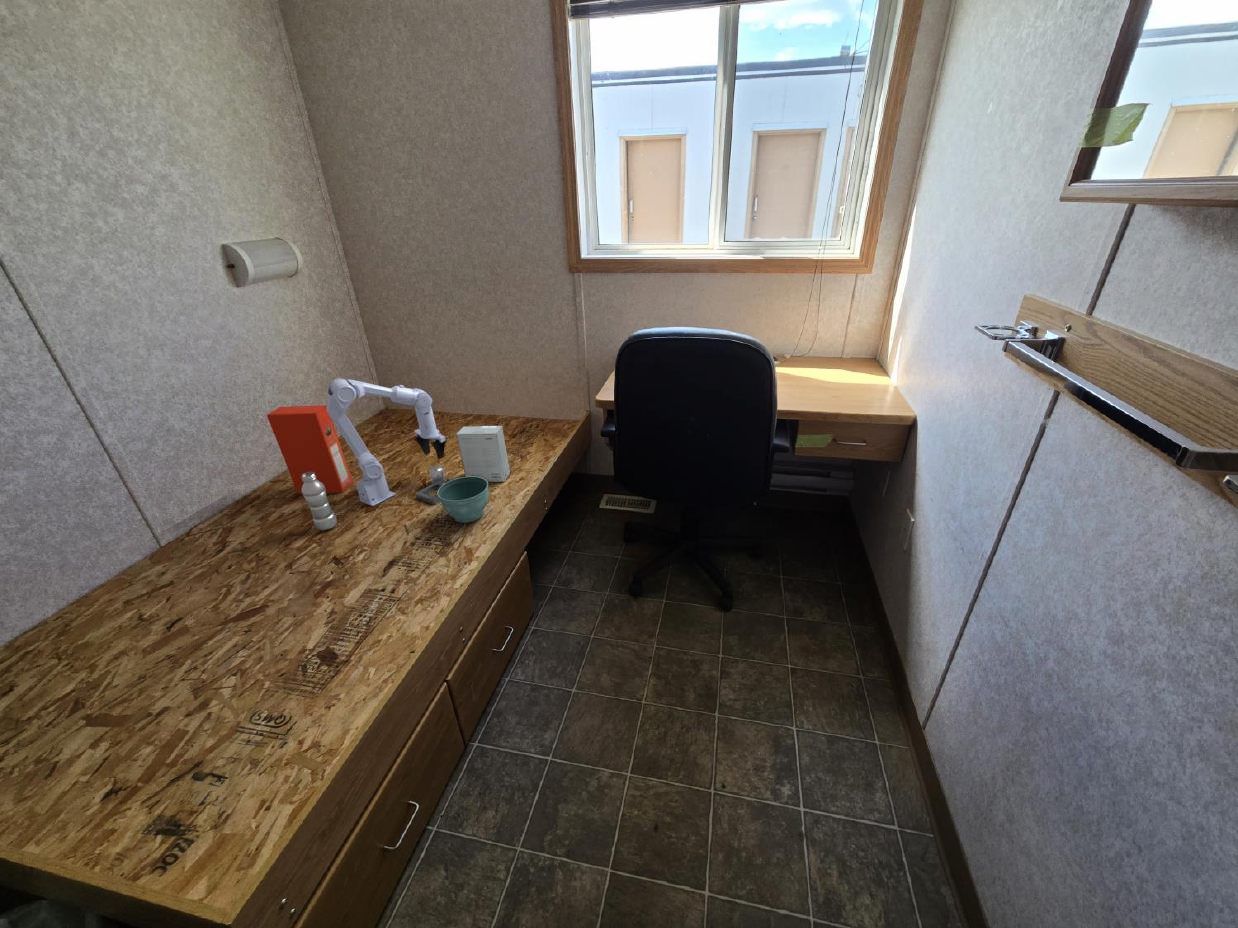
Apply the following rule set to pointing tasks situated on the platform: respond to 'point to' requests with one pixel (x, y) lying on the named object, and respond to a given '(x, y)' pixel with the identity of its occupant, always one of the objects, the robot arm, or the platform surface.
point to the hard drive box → (484, 452)
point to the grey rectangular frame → (424, 492)
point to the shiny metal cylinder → (437, 474)
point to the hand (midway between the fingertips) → (434, 455)
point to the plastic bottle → (318, 502)
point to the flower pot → (464, 498)
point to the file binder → (310, 446)
